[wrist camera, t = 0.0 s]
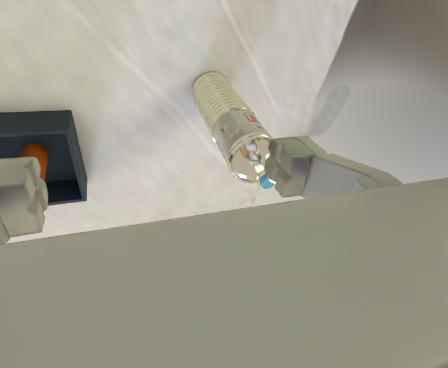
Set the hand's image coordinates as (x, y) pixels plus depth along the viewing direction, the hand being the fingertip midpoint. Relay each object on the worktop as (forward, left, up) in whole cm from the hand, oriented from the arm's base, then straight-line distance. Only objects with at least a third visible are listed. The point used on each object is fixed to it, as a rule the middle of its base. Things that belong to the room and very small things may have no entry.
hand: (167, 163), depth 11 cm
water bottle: (+15, +14, -39) cm, 44 cm away
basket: (+25, -15, -39) cm, 48 cm away
